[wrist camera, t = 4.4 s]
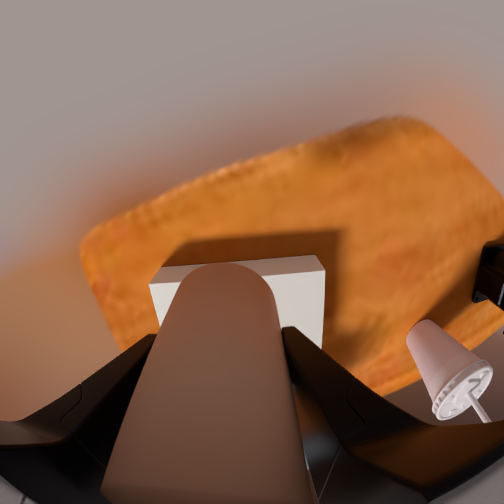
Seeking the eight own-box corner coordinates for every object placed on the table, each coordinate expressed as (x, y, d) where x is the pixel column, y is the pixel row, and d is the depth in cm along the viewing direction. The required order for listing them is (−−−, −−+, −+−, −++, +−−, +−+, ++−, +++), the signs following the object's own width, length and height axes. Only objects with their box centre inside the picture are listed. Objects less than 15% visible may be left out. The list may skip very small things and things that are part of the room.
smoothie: (440, 296, 23) (526, 384, 10) (445, 337, 25) (510, 420, 11) (389, 329, 24) (460, 440, 10) (399, 366, 26) (453, 463, 12)
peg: (273, 257, 10) (329, 482, 2) (277, 345, 11) (305, 530, 4) (165, 266, 10) (59, 460, 2) (185, 350, 11) (146, 525, 4)
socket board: (315, 254, 21) (325, 270, 18) (311, 369, 25) (317, 391, 22) (160, 267, 21) (148, 284, 18) (189, 377, 25) (184, 399, 22)
